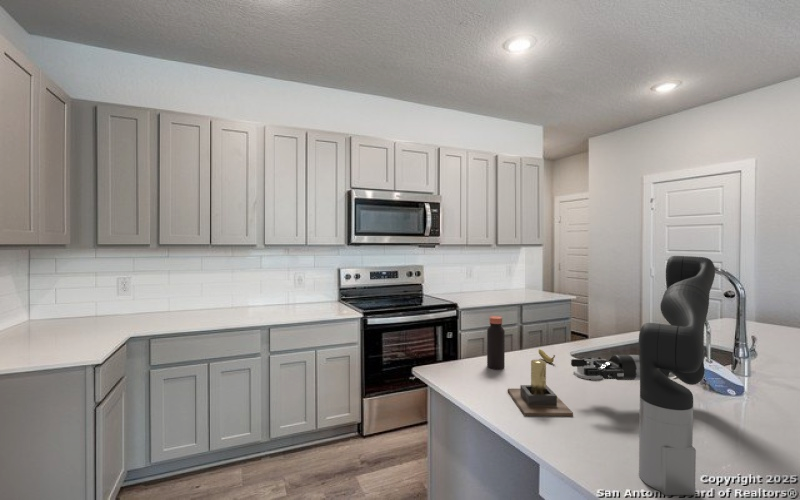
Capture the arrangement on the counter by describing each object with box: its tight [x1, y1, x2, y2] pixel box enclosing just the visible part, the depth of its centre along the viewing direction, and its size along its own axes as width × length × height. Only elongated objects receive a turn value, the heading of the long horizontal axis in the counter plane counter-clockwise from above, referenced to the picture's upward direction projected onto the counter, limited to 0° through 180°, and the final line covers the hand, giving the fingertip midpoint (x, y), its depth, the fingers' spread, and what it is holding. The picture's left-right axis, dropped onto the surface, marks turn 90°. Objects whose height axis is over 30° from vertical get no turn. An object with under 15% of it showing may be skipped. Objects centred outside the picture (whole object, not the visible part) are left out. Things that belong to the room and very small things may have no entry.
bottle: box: [486, 315, 506, 370], centre depth 154 cm, size 7×7×20 cm
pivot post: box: [530, 359, 547, 394], centre depth 120 cm, size 4×4×12 cm
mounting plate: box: [507, 384, 574, 417], centre depth 120 cm, size 18×14×4 cm
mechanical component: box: [572, 361, 603, 381], centre depth 144 cm, size 10×4×10 cm
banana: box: [538, 348, 556, 364], centre depth 161 cm, size 10×2×4 cm, turn 15°
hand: (577, 367), depth 118 cm, fingers open, 8 cm apart
